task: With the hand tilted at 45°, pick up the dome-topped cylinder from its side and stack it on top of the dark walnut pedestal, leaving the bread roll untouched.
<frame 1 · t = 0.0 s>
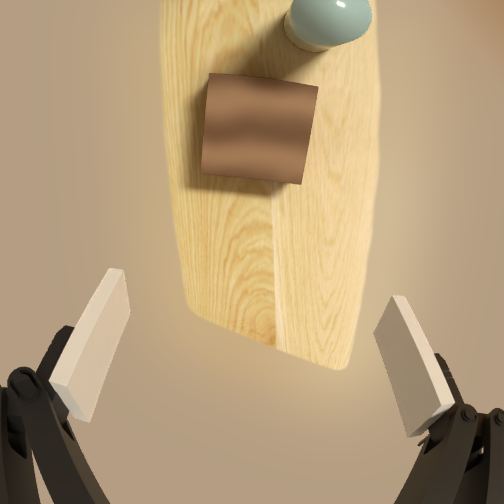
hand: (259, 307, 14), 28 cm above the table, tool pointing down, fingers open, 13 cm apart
pedestal: (257, 124, 36), on the table
dome-topped cylinder: (312, 26, 29), on the table
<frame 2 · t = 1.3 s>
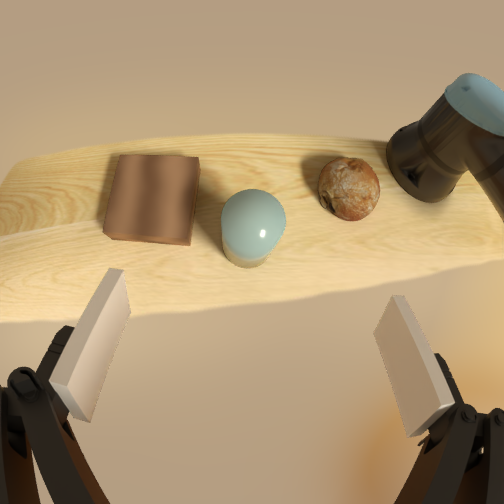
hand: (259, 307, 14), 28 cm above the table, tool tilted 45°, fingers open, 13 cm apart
pedestal: (156, 203, 44), on the table
bread roll: (345, 191, 47), on the table
dome-topped cylinder: (247, 243, 44), on the table
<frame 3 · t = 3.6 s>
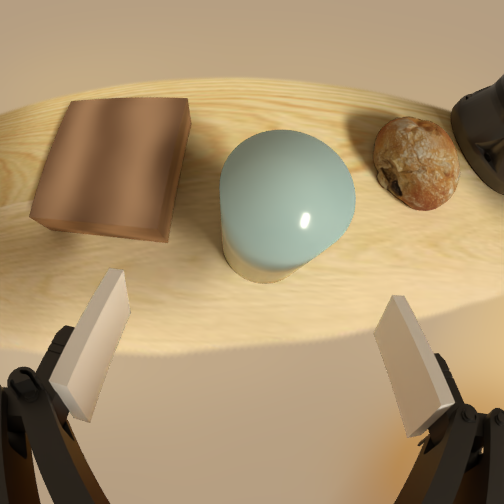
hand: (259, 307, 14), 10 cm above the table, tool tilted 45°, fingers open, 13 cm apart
pedestal: (118, 174, 26), on the table
bread roll: (409, 167, 29), on the table
dome-topped cylinder: (264, 241, 26), on the table
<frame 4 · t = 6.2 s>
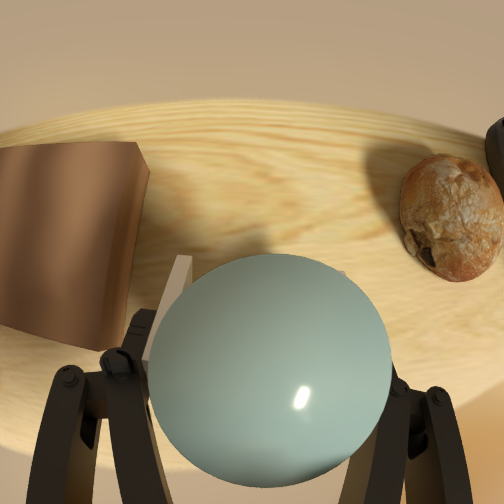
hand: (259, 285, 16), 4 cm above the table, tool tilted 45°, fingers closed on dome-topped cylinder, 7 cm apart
pedestal: (59, 246, 19), on the table
bread roll: (441, 219, 22), on the table
dome-topped cylinder: (248, 347, 18), on the table, touching gripper
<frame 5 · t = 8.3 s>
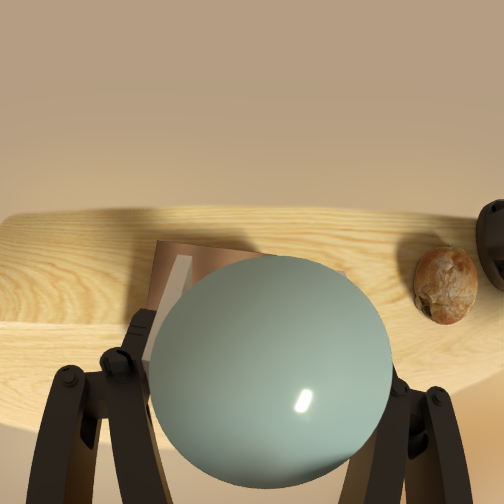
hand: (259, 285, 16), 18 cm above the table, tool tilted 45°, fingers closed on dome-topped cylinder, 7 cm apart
pedestal: (210, 309, 33), on the table
bread roll: (438, 284, 36), on the table
dome-topped cylinder: (249, 348, 18), point 14 cm above the table, touching gripper
when the fingers open (9 cm above the table, at t = 10.6 s): dome-topped cylinder drops 1 cm, resting on pedestal.
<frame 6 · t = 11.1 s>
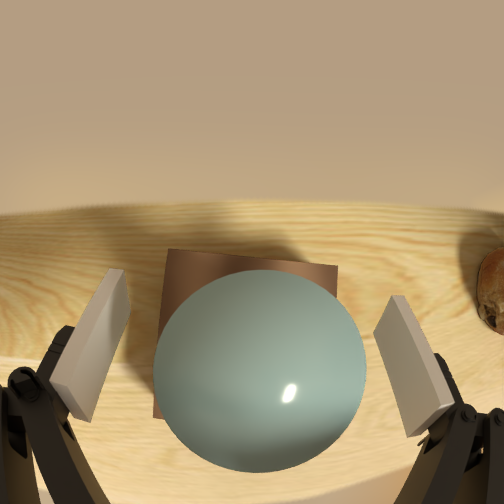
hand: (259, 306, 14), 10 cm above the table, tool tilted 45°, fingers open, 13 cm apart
pedestal: (243, 341, 24), on the table
bread roll: (497, 289, 27), on the table
dome-topped cylinder: (244, 347, 20), point 4 cm above the table, touching pedestal
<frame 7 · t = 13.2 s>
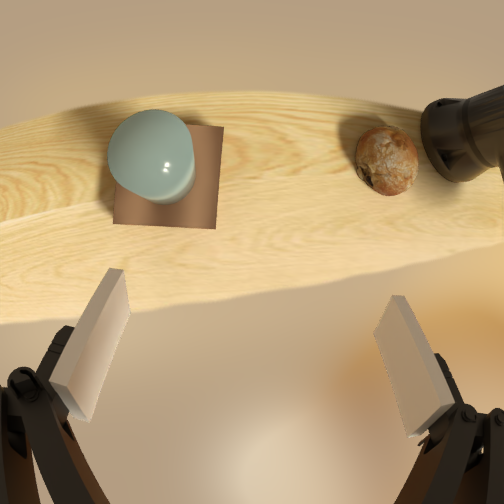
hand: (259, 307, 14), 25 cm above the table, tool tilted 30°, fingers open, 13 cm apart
pedestal: (170, 178, 37), on the table
bread roll: (381, 160, 42), on the table
dome-topped cylinder: (165, 174, 33), point 4 cm above the table, touching pedestal
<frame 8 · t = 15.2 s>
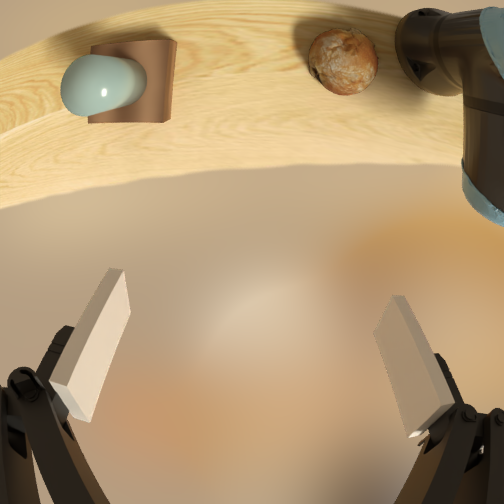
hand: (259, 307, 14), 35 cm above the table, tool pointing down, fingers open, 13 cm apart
pedestal: (135, 80, 38), on the table
bread roll: (340, 60, 37), on the table
dome-topped cylinder: (123, 82, 34), point 4 cm above the table, touching pedestal
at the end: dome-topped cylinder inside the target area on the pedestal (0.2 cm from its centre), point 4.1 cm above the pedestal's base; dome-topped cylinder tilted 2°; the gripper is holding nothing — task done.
